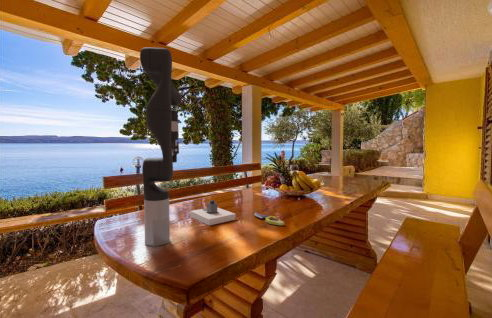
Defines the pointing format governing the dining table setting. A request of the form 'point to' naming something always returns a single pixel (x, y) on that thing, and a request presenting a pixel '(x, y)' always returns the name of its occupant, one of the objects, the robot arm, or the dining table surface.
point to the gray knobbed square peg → (211, 207)
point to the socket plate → (212, 216)
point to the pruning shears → (270, 219)
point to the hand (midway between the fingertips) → (171, 162)
